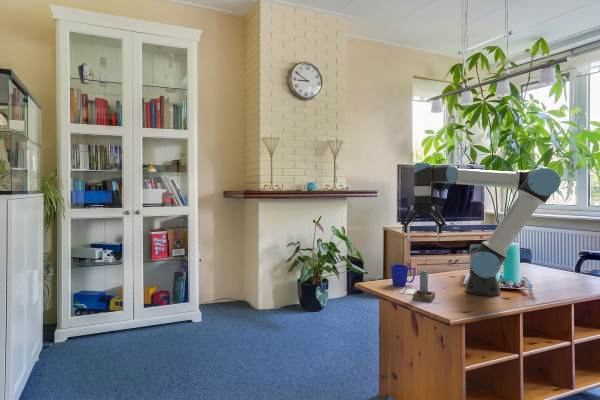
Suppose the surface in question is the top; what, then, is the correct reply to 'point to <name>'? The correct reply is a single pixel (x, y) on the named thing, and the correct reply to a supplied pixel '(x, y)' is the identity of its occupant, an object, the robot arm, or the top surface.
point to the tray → (424, 296)
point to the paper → (407, 291)
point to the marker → (424, 282)
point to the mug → (400, 275)
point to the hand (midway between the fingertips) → (422, 240)
